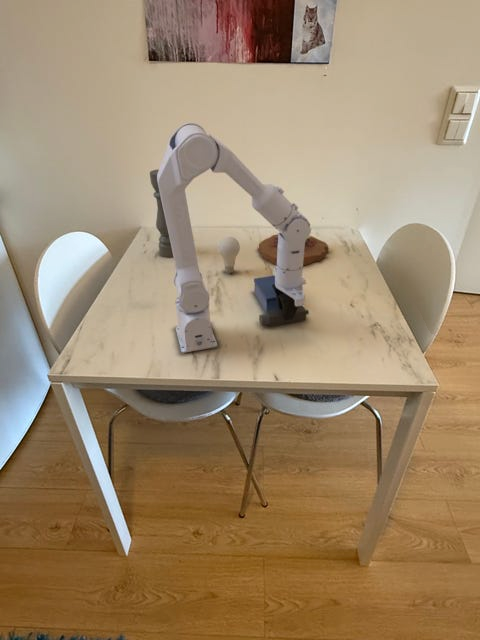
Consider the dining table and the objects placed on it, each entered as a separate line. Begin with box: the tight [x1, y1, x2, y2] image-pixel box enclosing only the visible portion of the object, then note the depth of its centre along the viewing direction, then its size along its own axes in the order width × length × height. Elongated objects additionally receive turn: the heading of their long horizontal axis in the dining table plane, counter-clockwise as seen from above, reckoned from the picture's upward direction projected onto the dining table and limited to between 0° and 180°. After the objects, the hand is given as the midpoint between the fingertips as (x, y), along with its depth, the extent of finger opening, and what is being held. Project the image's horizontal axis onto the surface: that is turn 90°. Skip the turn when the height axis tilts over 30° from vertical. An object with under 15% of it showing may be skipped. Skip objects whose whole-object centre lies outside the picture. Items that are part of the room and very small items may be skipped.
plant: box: [258, 222, 329, 266], centre depth 125 cm, size 20×20×11 cm
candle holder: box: [149, 169, 174, 258], centre depth 122 cm, size 6×6×25 cm
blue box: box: [253, 275, 279, 314], centre depth 105 cm, size 10×7×4 cm
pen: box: [258, 305, 310, 327], centre depth 97 cm, size 12×3×3 cm, turn 105°
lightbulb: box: [217, 235, 241, 274], centre depth 115 cm, size 6×6×11 cm
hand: (286, 315), depth 97 cm, fingers closed on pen, 2 cm apart
